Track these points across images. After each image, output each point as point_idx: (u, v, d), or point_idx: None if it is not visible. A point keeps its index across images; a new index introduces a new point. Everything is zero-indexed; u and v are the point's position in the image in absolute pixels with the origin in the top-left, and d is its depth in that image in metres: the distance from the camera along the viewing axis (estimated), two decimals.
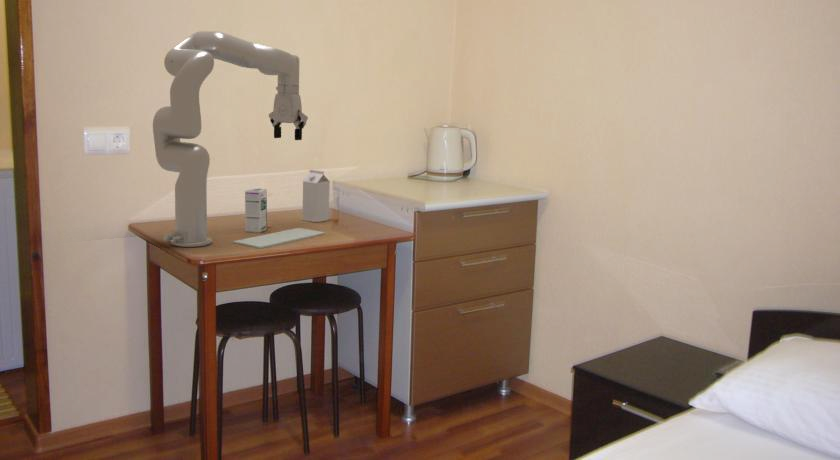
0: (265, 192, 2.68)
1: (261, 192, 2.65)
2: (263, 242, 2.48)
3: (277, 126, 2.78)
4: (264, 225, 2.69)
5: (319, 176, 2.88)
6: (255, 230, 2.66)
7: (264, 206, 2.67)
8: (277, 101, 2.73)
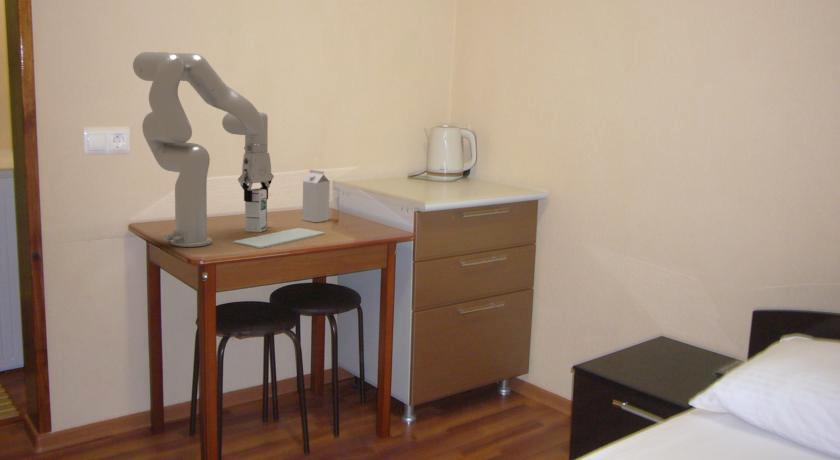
0: (265, 192, 2.68)
1: (261, 192, 2.65)
2: (263, 242, 2.48)
3: None
4: (264, 225, 2.69)
5: (319, 176, 2.88)
6: (255, 230, 2.66)
7: (264, 206, 2.67)
8: (256, 161, 2.61)
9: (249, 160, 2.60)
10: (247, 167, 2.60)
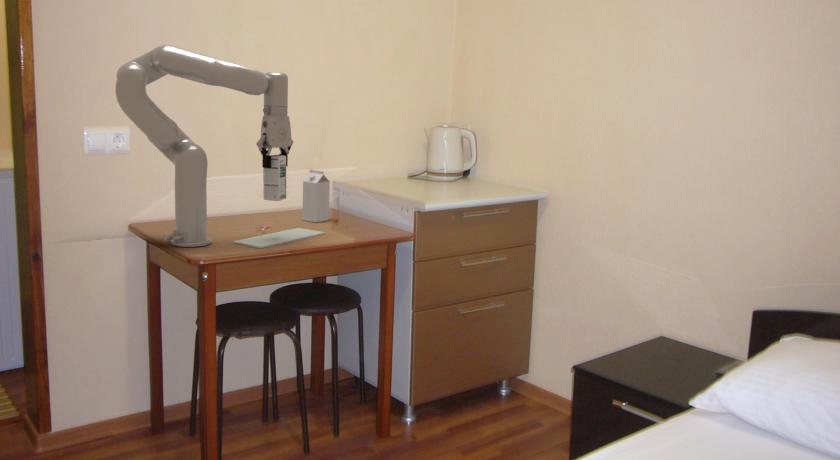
0: (285, 158, 2.52)
1: (280, 158, 2.49)
2: (263, 242, 2.48)
3: None
4: (283, 193, 2.53)
5: (319, 176, 2.88)
6: (274, 198, 2.50)
7: (283, 173, 2.51)
8: (276, 124, 2.45)
9: (268, 123, 2.44)
10: (266, 130, 2.44)
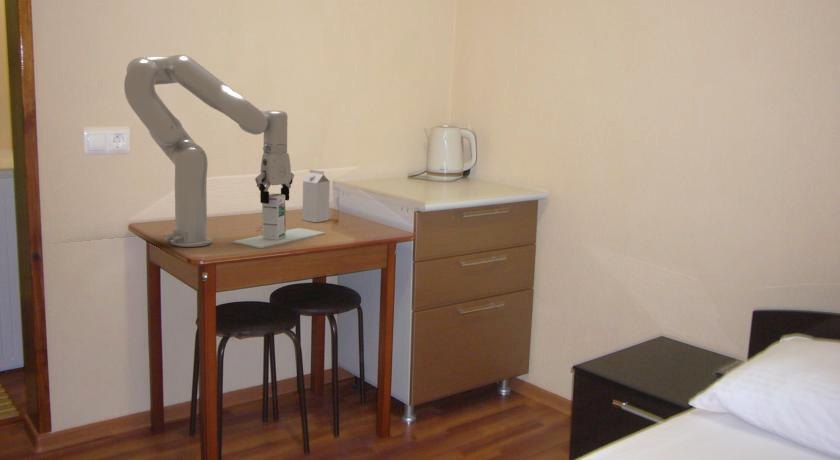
0: (284, 197, 2.54)
1: (279, 197, 2.51)
2: (263, 242, 2.48)
3: None
4: (282, 232, 2.55)
5: (319, 176, 2.88)
6: (272, 237, 2.52)
7: (282, 212, 2.53)
8: (276, 162, 2.47)
9: (268, 161, 2.46)
10: (266, 168, 2.47)
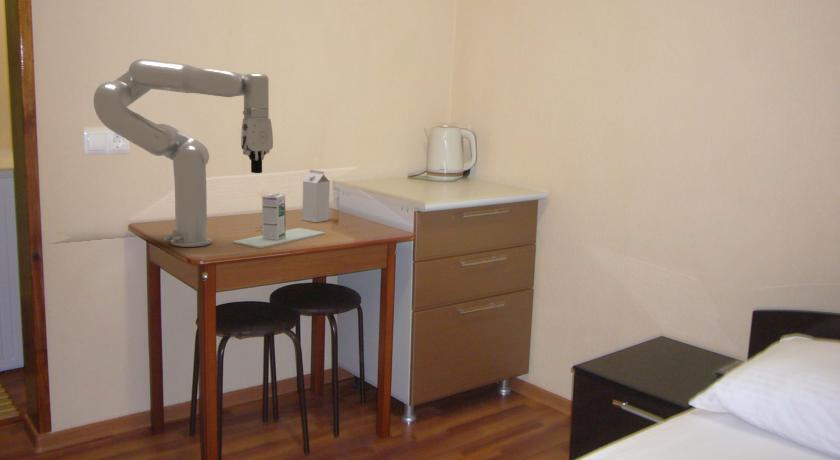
0: (284, 197, 2.54)
1: (279, 197, 2.51)
2: (263, 242, 2.48)
3: None
4: (282, 232, 2.55)
5: (319, 176, 2.88)
6: (272, 237, 2.52)
7: (282, 212, 2.53)
8: (256, 127, 2.38)
9: (248, 126, 2.36)
10: (246, 134, 2.37)
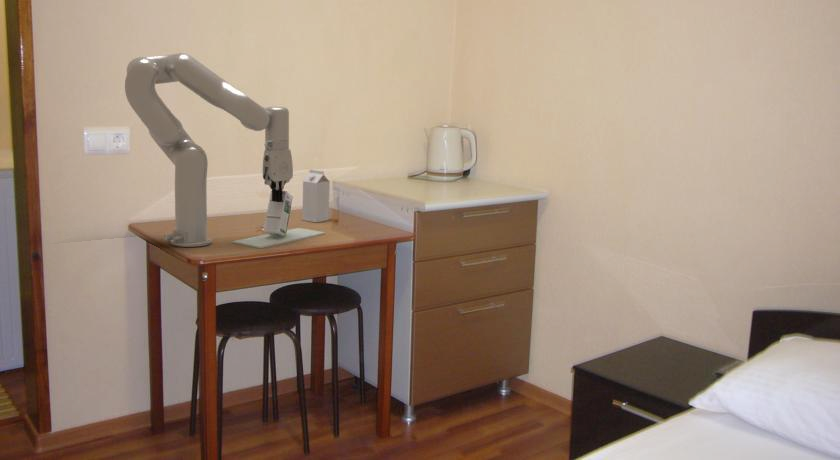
0: (291, 198, 2.60)
1: (287, 193, 2.57)
2: (263, 242, 2.48)
3: None
4: (284, 229, 2.56)
5: (319, 176, 2.88)
6: (274, 230, 2.53)
7: (287, 209, 2.57)
8: (277, 158, 2.48)
9: (270, 157, 2.46)
10: (268, 165, 2.47)
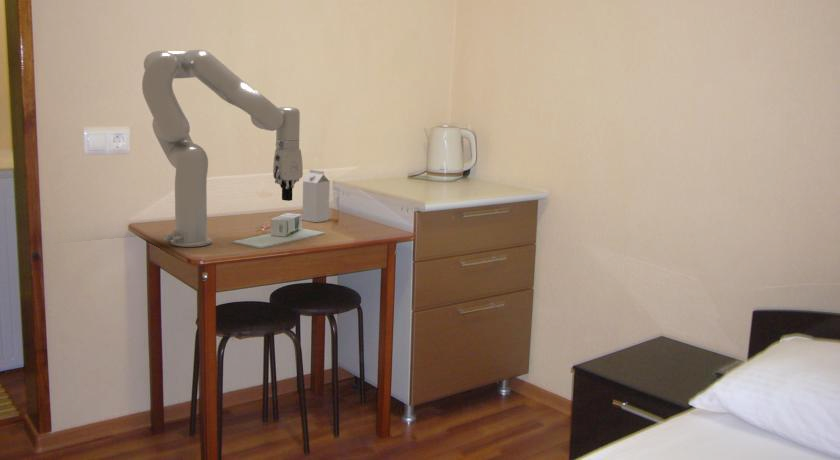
0: (301, 227, 2.70)
1: (301, 217, 2.70)
2: (263, 242, 2.48)
3: None
4: (288, 229, 2.59)
5: (319, 176, 2.88)
6: (281, 219, 2.58)
7: (296, 225, 2.65)
8: (288, 158, 2.52)
9: (281, 157, 2.51)
10: (278, 164, 2.51)
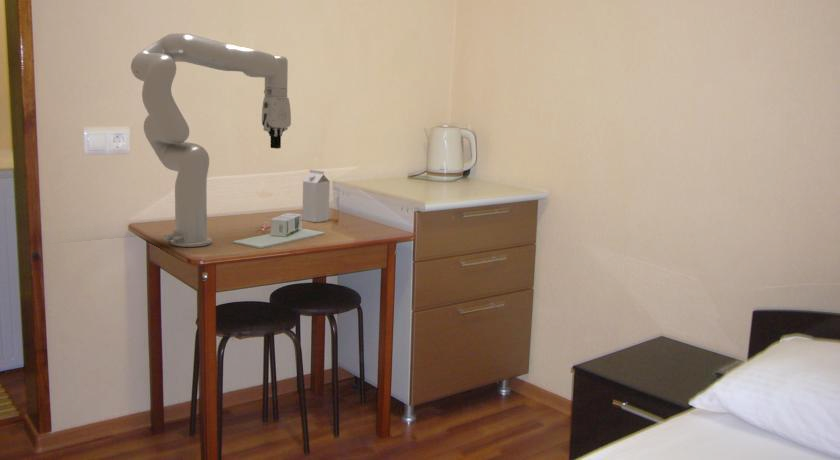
0: (301, 227, 2.70)
1: (301, 217, 2.70)
2: (263, 242, 2.48)
3: None
4: (288, 229, 2.59)
5: (319, 176, 2.88)
6: (281, 219, 2.58)
7: (296, 225, 2.65)
8: (276, 105, 2.57)
9: (269, 104, 2.56)
10: (267, 111, 2.56)
